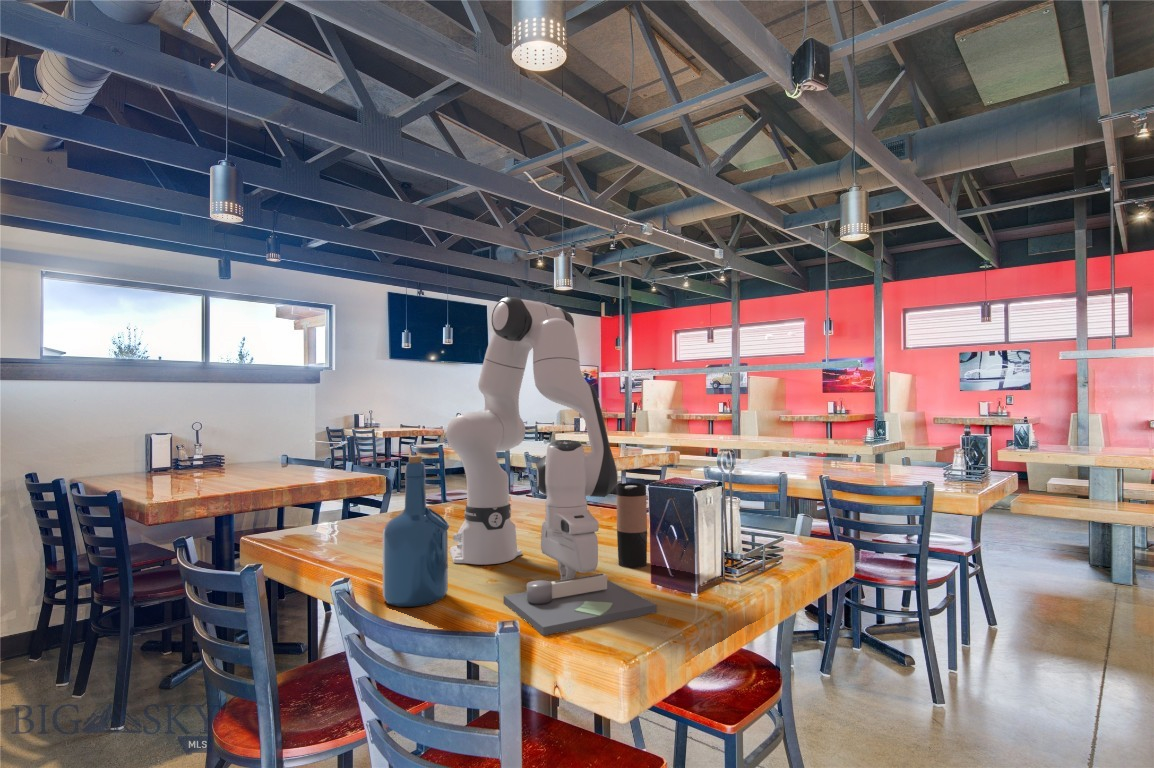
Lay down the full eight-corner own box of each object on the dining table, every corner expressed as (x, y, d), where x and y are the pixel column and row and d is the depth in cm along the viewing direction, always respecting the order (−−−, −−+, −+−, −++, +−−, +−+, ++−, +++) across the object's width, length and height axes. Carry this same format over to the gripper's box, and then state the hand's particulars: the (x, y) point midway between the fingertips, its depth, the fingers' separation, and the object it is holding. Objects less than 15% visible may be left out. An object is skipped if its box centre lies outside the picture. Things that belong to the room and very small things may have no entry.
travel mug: (636, 558, 154) (635, 482, 155) (653, 565, 148) (652, 485, 149) (611, 562, 151) (610, 484, 152) (628, 569, 144) (626, 487, 145)
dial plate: (503, 602, 121) (503, 594, 121) (604, 585, 132) (604, 577, 132) (543, 636, 103) (543, 626, 103) (657, 612, 114) (656, 603, 114)
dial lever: (523, 597, 118) (522, 582, 118) (599, 584, 126) (598, 570, 126) (532, 605, 114) (532, 589, 114) (611, 591, 122) (610, 576, 122)
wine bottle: (379, 611, 117) (379, 459, 118) (386, 591, 130) (386, 454, 131) (449, 605, 120) (448, 457, 121) (449, 586, 132) (449, 452, 134)
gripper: (533, 512, 132) (534, 574, 132) (574, 527, 114) (576, 600, 113) (558, 509, 135) (559, 570, 135) (603, 524, 117) (604, 594, 116)
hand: (567, 584), depth 124 cm, fingers closed
